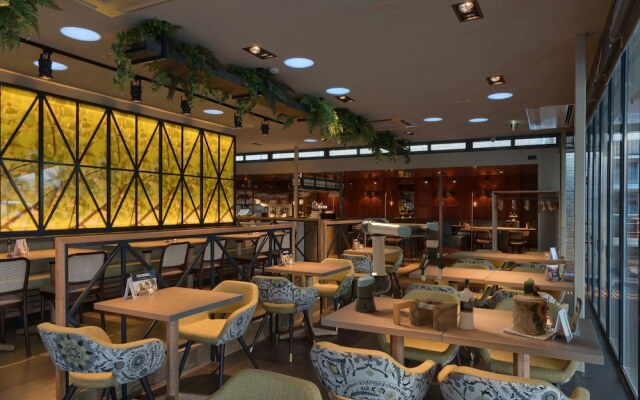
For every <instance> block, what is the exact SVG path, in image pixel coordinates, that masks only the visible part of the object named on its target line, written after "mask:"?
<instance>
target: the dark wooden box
mask: <svg viewBox="0 0 640 400" xmlns="http://www.w3.org/2000/svg"><path fill="white" fill-rule="evenodd" d="M458 309H459V305H458V303H456V302H451V301H445V300H439V299H435V298H429V297H426V298H421V300H416V301H412V302H411V320H410V325H413V326H418V327H420V326H422V325H426V324H430V323H431V324H432V325H433V327H432V330H433V331H438V332H441V333H442V332H445V331H449V330H451V329H454V328H457V327H458V323H459V318H458V315H459V314H458V312H459V311H458Z"/></svg>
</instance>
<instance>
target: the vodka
mask: <svg viewBox="0 0 640 400" xmlns="http://www.w3.org/2000/svg"><path fill="white" fill-rule="evenodd" d="M474 298H475V293H473V292H472V291H471V290H470V279H469V278H465V279H464V289H463V290H462V291H460V293H459V311H458V312H459V318H458V323H457V327H458V328H459V329H460V330H463V331H473V330H474V329H475V323H474V322H475V321H474V312H475V311H474V301H475V299H474Z"/></svg>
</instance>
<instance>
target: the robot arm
mask: <svg viewBox="0 0 640 400" xmlns="http://www.w3.org/2000/svg"><path fill="white" fill-rule="evenodd" d="M360 229H361V231H362V233H364V234H365V235H369V238H371V240H372V270H373V271H372V273H371V275H363V276H360V277H358V279H357V288H356V289H357V290H356V291H357V298H356V302H355V306H354V311H356V312H359V313H370V314H371V313H375V312H377V306H376V303H375V295H378V294H384V293H388V292H389V291H390V289H391V287H392V282H391V281H392V280H391V279H390V277H389V276H388V273H387V272H386V259H385V258H386V257H385V255H386V254H385V252H386V251H385V239H386V238H387V235H388V236H395V237H396V236H397V237H401V238H413V237H415V238H416V237H424V238H426V241H425V245H426V247H425V252H426V254H424V253H423V254H422V258H421V261H420V264H419V265H418V269H419V270H420V274H421V281H424V282H425V281H426V278H427V277H426V276H427V273H426V272H427V271H426V269H427V268H428V265H429V264H430V263H431V262H434V263H435V264H436V267H437V273H436V274H437V276H436V277H437V280H442V275H443V270H444V268H446V267H445V264H444V261H443V259H442V254H441V253H439V230H440V229H439V223H438V222H426V225H425V224H423V225H422V224H413V225H412V224H398V223H397V224H396V223H389V222H388V221H387V220H386V218H382V217H375V218H373V217H368V218H365V219H363V220H362V221H361V224H360Z"/></svg>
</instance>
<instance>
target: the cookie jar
mask: <svg viewBox="0 0 640 400" xmlns="http://www.w3.org/2000/svg"><path fill="white" fill-rule="evenodd" d="M540 291H541V287H540V286H539V284H535V280H534V279H532V278H531V277H529V278H528V279H527V280H525V281H524V282H523V292H522V294H521V293H520V294H515V295H513V296H512V300H513V306H512V309H513V310H512V314H511V319H512V324H511V325H510V326H508V327H505V328H503V330H502V331H503V332H504V331H505V333H507V334H510V335H512V334H513V335H517V336H521V337H525V338H530V339H535V340H539V341H546V340H547V339H549V338H551V337H553V335H554V334H553V331H554V329H555V328H551V329H552V330H546V329H545V328H547V323H548V319H547V313H548V311H549V310H550V307H549V306H548V299H547V297H546V296H542V294H540V293H539V292H540Z"/></svg>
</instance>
